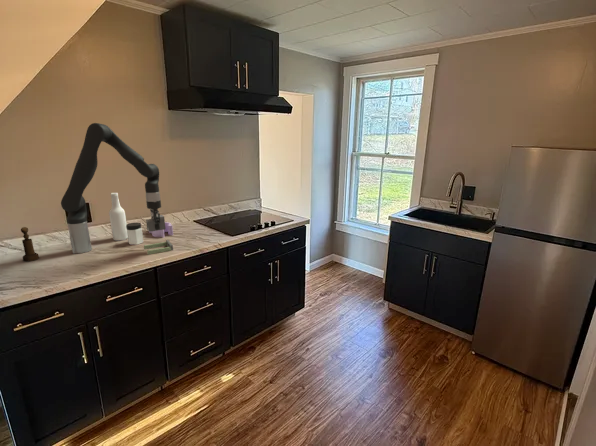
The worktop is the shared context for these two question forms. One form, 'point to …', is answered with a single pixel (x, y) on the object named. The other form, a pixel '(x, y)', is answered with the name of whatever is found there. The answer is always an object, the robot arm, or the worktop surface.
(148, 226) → the upright grey block
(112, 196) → the alcohol
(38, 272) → the worktop surface
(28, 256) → the brown chess pawn
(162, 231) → the clip
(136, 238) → the jar
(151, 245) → the deck socket
